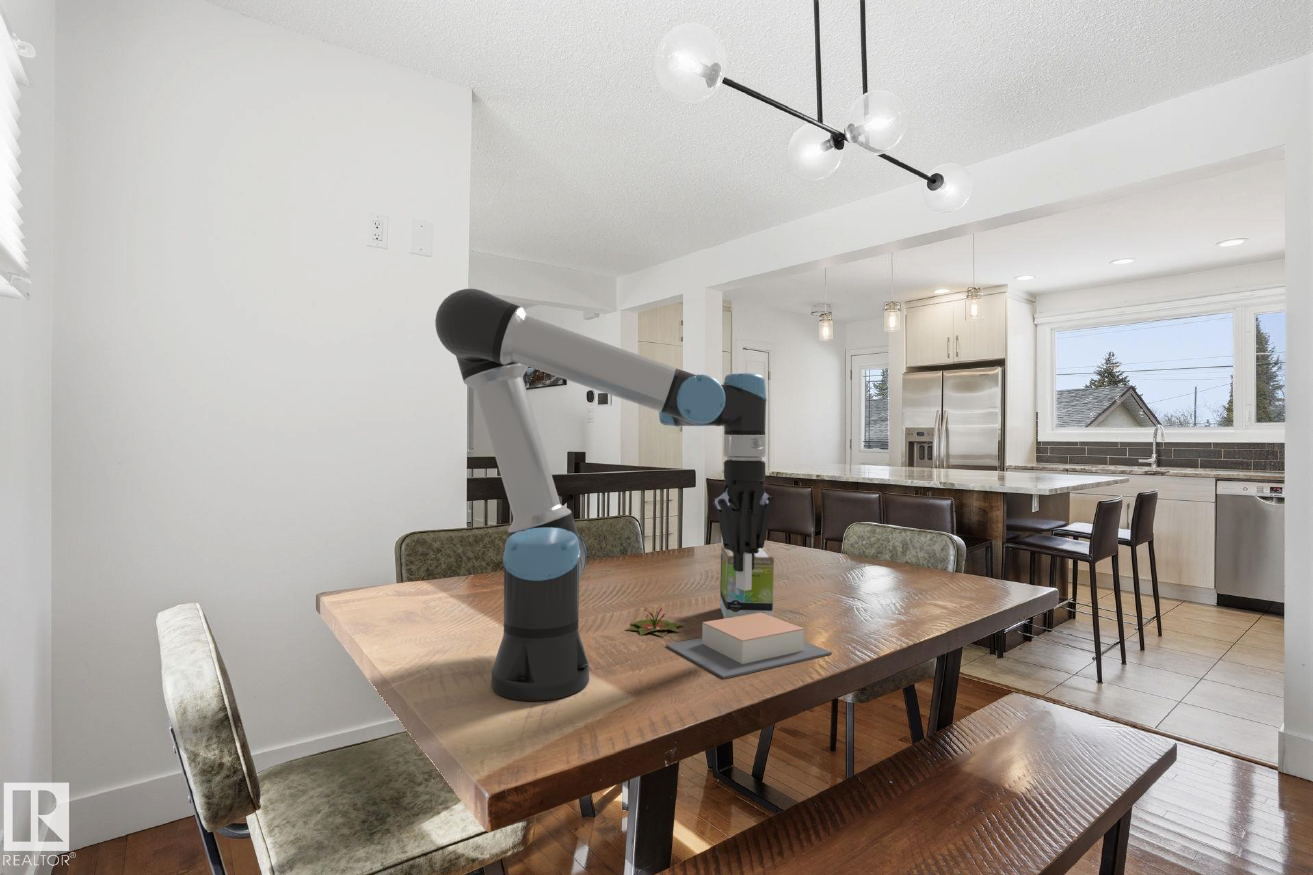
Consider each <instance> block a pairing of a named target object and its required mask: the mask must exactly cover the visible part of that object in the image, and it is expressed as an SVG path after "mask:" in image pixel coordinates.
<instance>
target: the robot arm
mask: <svg viewBox="0 0 1313 875" xmlns="http://www.w3.org/2000/svg"><path fill="white" fill-rule="evenodd" d="M434 324H435V331H436V334H437V336H438V338H439V341H440V342H441V344H442V345H443V347H444V348H445V349H446V350H447V351H448V352H450V353H451V354H452V355H454V356H455V357H456V361H457V364H458V367H459V370H460V375H461V377H462V381H463V384H464V385H466V386H468V387H470V388H471V389H472V390H474V391H475V393H476V396H477V399H478V404H479V406H480V410H481V413H482V416H483V419H484V424H485V426H486V430H487V434H488V436H489V440H490V443H491V447H492V450H493V453H494V454H493V455H494V457H495V461H496V463H497V466H498V469H499V470H498V471H499V473H500V477H501V480H502V483H503V484H502V485H503V487H504V490H505V493H506V496H507V499H508V503H509V507H510V510H511V513H512V517H513V520H512V522H511V524H510V526H509V528H508V530H507V531H508V534H509V537H507V539H506V541H505V543H504V552H503V555H502V561H503V636H502V638H501V641H500V645H499V647H498V651H497V653H496V657H495V660H494V663H493V666H492V668H491V679H490V680H491V689H492V690H493V692H494V693H496V694H497V695H499V696H501V697H504V698H507V699H510V700H517V701H527V702H530V701H533V702H534V701H535V702H536V701H537V702H538V701H539V702H540V701H549V700H550V701H551V700H556V699H560V698H564V697H568V696H571V695H574V694H576V693H578V692H580V691H581V690H583V689H584V688H585V687H586V686H588V684H589V682H590V665H589V664H590V663H589V661H588V658H587V654H586V651H585V648H584V644H583V641H582V638H581V635H580V631H579V615H580V614H579V609H580V608H579V607H580V603H579V602H580V600H579V599H580V580H581V579H582V575H583V574H584V571H585V569H586V565H587V557H588V556H587V549H586V548H587V547H586V544H585V542H584V540H583V539H582V536H580V534H579V532H578V529H577V528H578V527H577V526H576V522H575V518H574V516H573V512H572V511H571V509H569V508H567V507H565V506H563V504H561V503H560V499H559V495H558V491H557V489H556V484H555V481H554V478H553V475H552V472H551V468H550V465H549V461H548V459H547V455H546V452H545V448H544V445H543V441H542V438H541V435H540V431H539V428H538V425H537V420H536V417H535V414H534V411H533V408H532V405H531V401H530V397H529V395H528V391H527V388H526V384H525V381H524V375H525V373H526V372H527V370H528V368H532V369H534V370H537V371H540V372H544V373H546V374H549V375H551V376H552V375H553V376H555V377H557V378H561V379H563V380H566V381H570V382H573V383H575V384H578V385H581V386H584V387H587V388H590V389H593V390H596V391H599V392H602V393H604V394H608V395H610V396H613V397H616V398H619V399H622V400H625V401H628V402H630V403H633V404H635V405H636V404H637V405H640V406H641V407H642V406H643V407H646V408H648V409H651V410H654V411H658V417H659V418H658V419H659V422H660V424H661V425H663V426H672V427H677V428H679V427H711V426H712V427H723V429H724V431H723V433H724V435H723V456H724V457H725V458H726V460H724V461H723V479H724V482H725V486H724V487H723V491H722V492H723V493H722V494H721V495H720V496H718V497H713V498H712V500H711V503H712V504H713V507H714V508H715V510H716V513H717V519H718V524H719V530H720V533H721V534H720V535H721V540H722V545H723V546H724V548H725V549H727V550H730V551H732V552H733V569H734V570H735V571H736V588H739V589H742V590H745V591H746V590H752V570H754V554H755V553H756V554H757V553H758V552H759V550H758V549H759V548H763V547H764V548H765V546H764V545H765V541H766V536H767V531H768V526H769V522H770V521H769V520H770V515H771V509H772V507H773V506H774V503H776V502H775V501H776V498H775V496H774V495H773V496H772V495H769V494H768V493H766V489H765V486H764V481H765V480H766V462H765V460H763V458H765V457H766V417H767V416H766V415H767V414H766V412H767V401H768V400H767V394H766V391H767V389H766V380H765V378H764V376H763V375H761V374H759V373H751V372H750V373H747V372H744V373H729V374H727V375H726V376H725V377H724V381H723V384H721V383H720V382H719V381H718V380H717V379H716V378H714V377H713V376H710V375H706V374H694V373H691V372H688V371H686V370H683V369H678V368H676V367H674V366H672V365H668V364H666V363H663V362H660V361H657V360H655V359H652V358H649V357H646V356H643V355H640V354H637V353H634V352H631V351H629V350H627V349H624V348H620V347H617V346H614V345H611V344H610V343H605V342H603V341H600V340H597V339H594V338H592V337H589V336H586V335H584V334H580V333H577V332H574V331H573V330H572V331H571V330H568V329H566V328H563V327H561V326H557V325H554V324H552V323H549V322H546V321H543V320H540V319H538V318H535V317H532V316H529V315H528V314H527V311H526V310H525V308H524V307H523V306H519V305H517V304H515V303H511V302H509V301H507V300H504V299H502V298H500V297H497V296H495V295H493V294H491V293H489V292H487V291H485V290H481V289H477V288H464V289H459V290H456V291H454V292H452V293H451V294H449V295H448V296H447V297H445V298H444V299H443V300H442V302H441V304H439V307H438V309H437V311H436V314H435V322H434Z"/></svg>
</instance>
